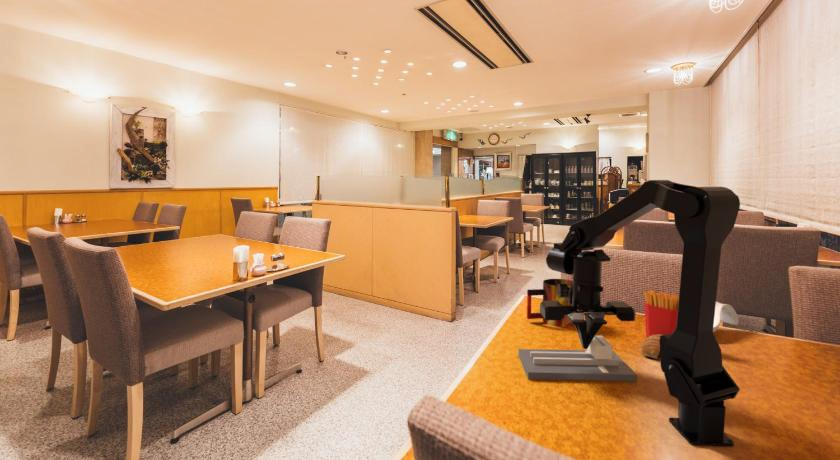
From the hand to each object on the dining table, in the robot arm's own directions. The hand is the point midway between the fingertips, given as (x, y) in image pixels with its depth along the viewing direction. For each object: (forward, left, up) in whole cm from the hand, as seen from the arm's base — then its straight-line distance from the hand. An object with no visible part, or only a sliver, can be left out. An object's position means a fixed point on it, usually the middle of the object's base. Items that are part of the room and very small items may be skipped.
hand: (584, 348), depth 86 cm
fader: (0, -3, -3) cm, 4 cm away
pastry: (+9, -20, -5) cm, 23 cm away
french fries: (+16, -25, -5) cm, 30 cm away
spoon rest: (+26, -41, -5) cm, 49 cm away
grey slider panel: (0, +2, -4) cm, 5 cm away
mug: (+30, -1, -5) cm, 30 cm away
